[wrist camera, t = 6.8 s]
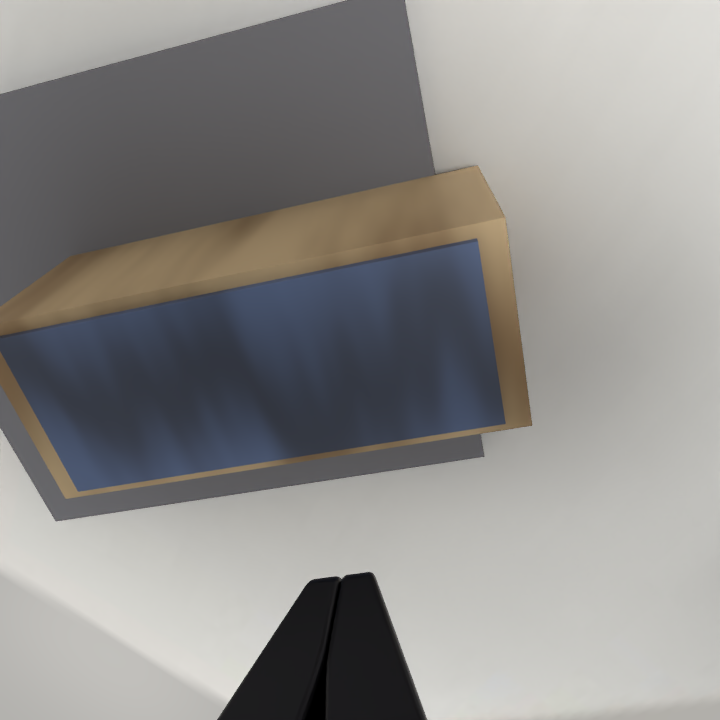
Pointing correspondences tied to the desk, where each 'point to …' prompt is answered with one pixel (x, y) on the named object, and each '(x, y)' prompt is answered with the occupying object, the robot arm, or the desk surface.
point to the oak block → (272, 339)
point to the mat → (211, 178)
